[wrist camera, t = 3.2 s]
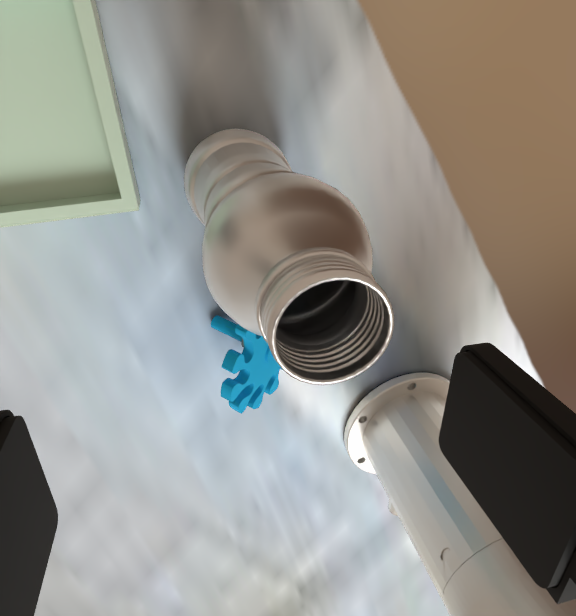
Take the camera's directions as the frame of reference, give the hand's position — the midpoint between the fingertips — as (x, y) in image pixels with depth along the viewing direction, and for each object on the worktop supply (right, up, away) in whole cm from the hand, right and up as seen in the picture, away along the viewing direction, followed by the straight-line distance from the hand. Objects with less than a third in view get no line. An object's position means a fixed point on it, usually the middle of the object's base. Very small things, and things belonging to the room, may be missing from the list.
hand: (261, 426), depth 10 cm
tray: (-15, +14, +15) cm, 25 cm away
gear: (-2, +2, +25) cm, 25 cm away
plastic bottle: (-3, +11, +20) cm, 23 cm away
